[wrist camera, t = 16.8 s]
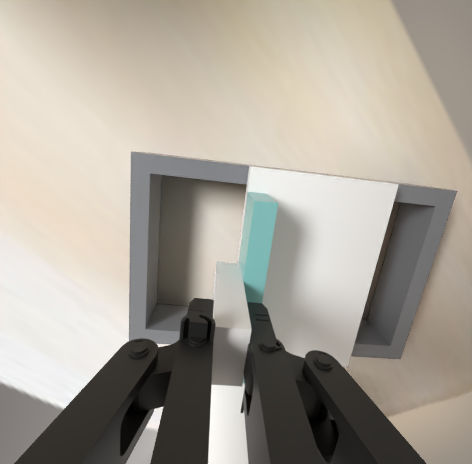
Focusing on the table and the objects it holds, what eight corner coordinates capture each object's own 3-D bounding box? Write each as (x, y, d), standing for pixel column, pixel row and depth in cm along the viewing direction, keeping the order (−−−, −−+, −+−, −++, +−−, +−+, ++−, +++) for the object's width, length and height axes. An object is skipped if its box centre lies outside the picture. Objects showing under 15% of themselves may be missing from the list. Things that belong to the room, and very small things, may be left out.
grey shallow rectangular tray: (146, 152, 20) (130, 151, 17) (420, 185, 22) (457, 190, 18) (142, 314, 24) (128, 341, 20) (375, 331, 25) (400, 359, 22)
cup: (293, 373, 26) (393, 676, 11) (229, 415, 27) (237, 746, 12) (242, 318, 24) (277, 594, 9) (175, 366, 25) (104, 686, 10)
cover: (249, 166, 17) (258, 169, 13) (389, 182, 18) (443, 191, 13) (225, 350, 21) (226, 402, 16) (342, 357, 21) (372, 409, 17)
